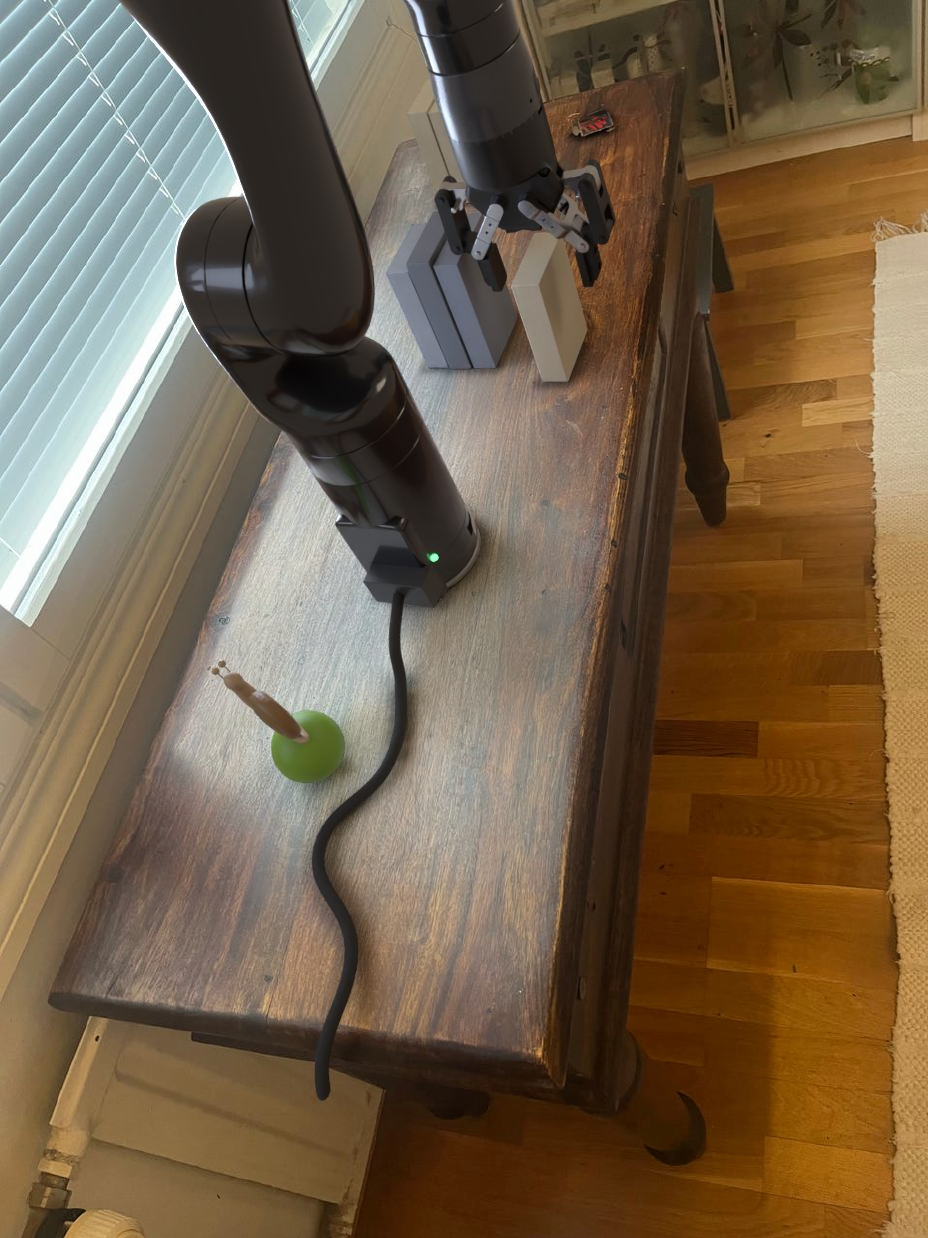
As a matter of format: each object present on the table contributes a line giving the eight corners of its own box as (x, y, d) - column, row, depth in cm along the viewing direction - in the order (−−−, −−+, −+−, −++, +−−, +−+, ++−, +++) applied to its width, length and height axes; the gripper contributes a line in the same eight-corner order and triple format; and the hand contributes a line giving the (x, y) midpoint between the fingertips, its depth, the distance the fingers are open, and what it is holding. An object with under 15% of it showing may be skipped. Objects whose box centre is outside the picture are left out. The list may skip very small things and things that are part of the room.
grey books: (495, 368, 90) (454, 260, 81) (427, 369, 94) (379, 265, 84) (518, 316, 94) (481, 206, 84) (451, 318, 97) (408, 213, 87)
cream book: (568, 382, 86) (538, 284, 78) (542, 382, 87) (510, 285, 79) (587, 329, 89) (561, 230, 81) (562, 330, 90) (533, 232, 82)
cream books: (478, 202, 108) (447, 108, 99) (440, 205, 110) (406, 114, 101) (496, 164, 111) (468, 70, 102) (459, 169, 113) (428, 77, 104)
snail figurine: (315, 713, 74) (240, 634, 65) (369, 750, 71) (298, 672, 61) (270, 767, 73) (187, 694, 63) (323, 808, 69) (243, 736, 60)
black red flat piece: (602, 108, 110) (602, 104, 109) (621, 125, 107) (620, 121, 106) (567, 127, 110) (566, 123, 110) (584, 145, 107) (583, 141, 106)
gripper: (391, 149, 71) (460, 316, 84) (568, 125, 65) (613, 309, 77) (424, 90, 74) (485, 260, 87) (594, 63, 68) (633, 249, 81)
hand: (545, 283), depth 82 cm, fingers open, 8 cm apart
